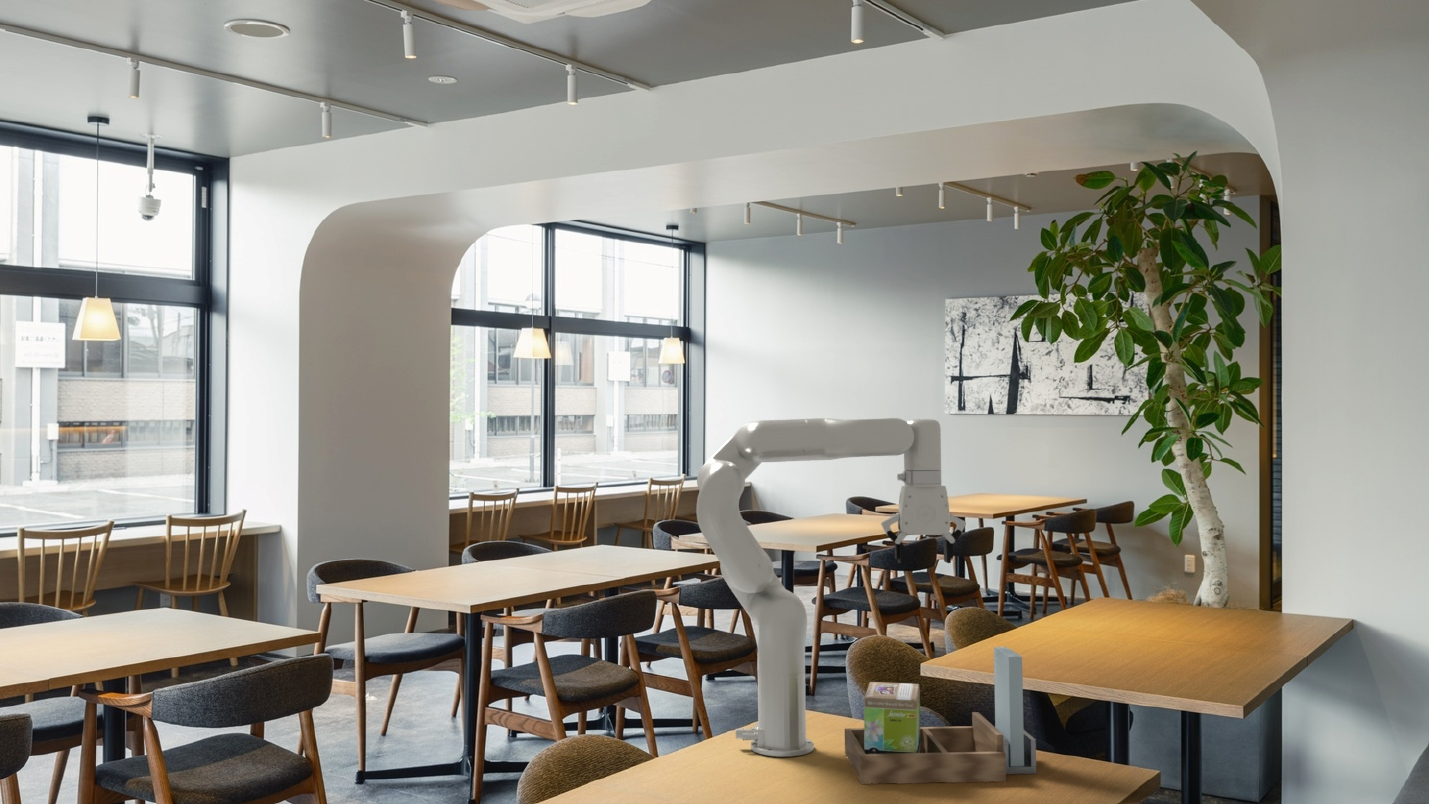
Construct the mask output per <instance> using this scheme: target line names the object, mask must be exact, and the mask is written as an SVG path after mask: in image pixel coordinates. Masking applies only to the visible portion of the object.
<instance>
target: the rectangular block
mask: <svg viewBox="0 0 1429 804" xmlns="http://www.w3.org/2000/svg"><path fill="white" fill-rule="evenodd" d="M993 666H994V667H993V669H994V671H993V674H994V675H993V676H994V680H993V681H994V682H993V683H994V721H995V723H994V727H995V728H996V729H997V730H999V731H1000V732H1001V733H1002V734H1003V736H1004V737H1005V738H1007V739H1008V754H1009V765H1010V766H1024V732H1023V729H1024V696H1023V694H1024V689H1023V686H1024V684H1023V683H1024V681H1023V680H1024V679H1023V656H1022V655H1021V654H1019V653H1017V652H1015V651H1014V650H1012V649H1011V648H1009V647H1007V646H999V647H998V646H995V647H993Z"/></svg>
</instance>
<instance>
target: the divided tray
mask: <svg viewBox="0 0 1429 804" xmlns="http://www.w3.org/2000/svg"><path fill="white" fill-rule="evenodd" d="M971 716H972V717H971V722H972V724H971V725H972V726H971V725H970V726H966V725H965V726H961V725H960V726H920V753H897V754H865V752H864V727H863V728H862V727H860V728H856V727H855V728H853V727H852V728H851V727H850V728H844V755H845V754H846V755H847V756H846V755H845V756H846V758H847V757H848V758H847V760H848V759H849V760H848V762H849V761H850V762H849V764H850V763H851V764H850V765H851V767H852V769H853V768H854V769H853V771H854V770H855V771H854V773H855V775H856V774H857V775H856V777H857V776H858V777H859V778H858V777H857V778H858V780H859V779H860V780H859V783H860V782H861V783H860V784H861V785H875V784H874V783H877V784H876V785H879V784H878V783H897V784H935V783H934V782H946V783H983V782H985V783H989V782H990V781H991V783H993V782H994V781H995V782H1007V774H1006V754H1005V752H1004V746H1003V734H1002V733H1001V732H1000V731H999V730H997V729H996V728H995V725H993V724H992V723H991V722H990V721H989V720H987V718H986V717H985V716H983V715H982V714H981V713H980V712H978V711H977V712H976V711H972V712H971ZM992 781H993V782H992ZM929 782H930V783H929ZM932 782H933V783H932ZM864 783H865V784H864ZM867 783H869V784H867ZM871 783H873V784H871Z"/></svg>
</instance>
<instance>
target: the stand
mask: <svg viewBox="0 0 1429 804" xmlns="http://www.w3.org/2000/svg"><path fill="white" fill-rule="evenodd" d="M1023 732H1024V766H1010V765H1009V754H1008V739H1007V738H1005V737H1004V736H1003V746H1004V752H1005V754H1006V775H1023V774H1024V775H1025V774H1026V775H1030V774H1032V775H1033V774H1034V775H1036V774H1037V742H1036V741H1037V740H1036V738H1034V736H1032V735H1031V734H1030V733H1029V732H1027V731H1026V730H1025V729H1024V728H1023Z"/></svg>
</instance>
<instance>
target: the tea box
mask: <svg viewBox="0 0 1429 804" xmlns="http://www.w3.org/2000/svg"><path fill="white" fill-rule="evenodd" d="M920 689H921V688H920V684H919V683H905V682H901V683H900V682H884V681H883V682H880V681H879V682H878V681H870V682H869V683H868V687H867V689H866V693H865V696H864V704H863V705H864V709H863V711H864V712H863V715H864V716H863V717H864V719H863V721H864V726H863V728H864V752H865V754H897V753H920V727H921V725H920V723H921V717H920V716H921V701H920V699H921V698H920V696H921V695H920V694H921V693H920Z"/></svg>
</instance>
